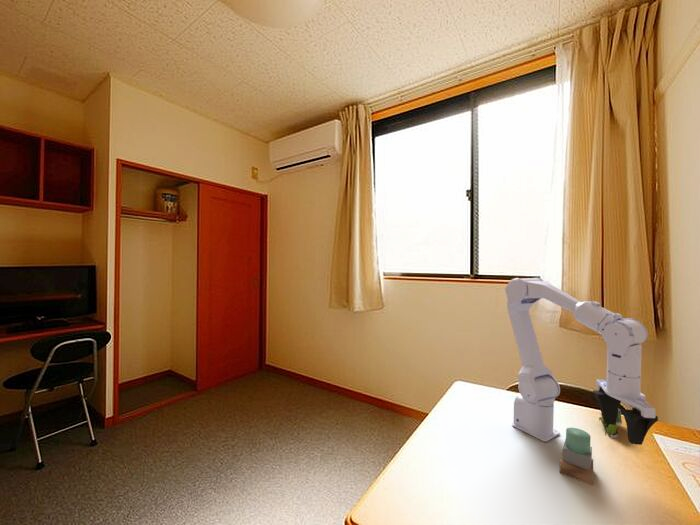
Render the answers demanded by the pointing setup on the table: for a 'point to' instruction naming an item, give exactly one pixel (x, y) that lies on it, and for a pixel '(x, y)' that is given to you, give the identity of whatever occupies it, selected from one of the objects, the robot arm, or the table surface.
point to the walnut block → (576, 471)
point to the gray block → (577, 458)
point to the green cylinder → (578, 441)
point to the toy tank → (611, 428)
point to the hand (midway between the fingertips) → (621, 433)
